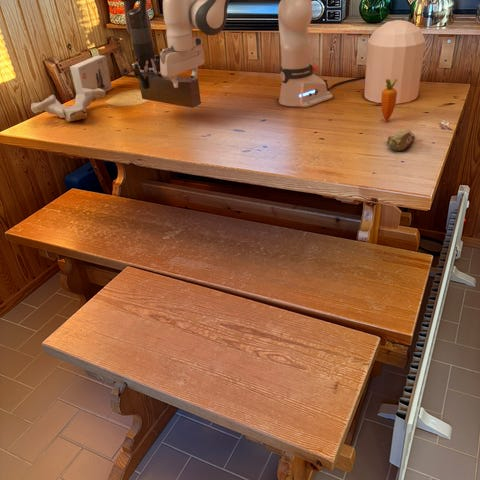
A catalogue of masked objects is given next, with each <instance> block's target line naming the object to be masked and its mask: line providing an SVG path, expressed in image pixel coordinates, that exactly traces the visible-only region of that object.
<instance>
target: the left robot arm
mask: <svg viewBox="0 0 480 480" xmlns="http://www.w3.org/2000/svg"><path fill="white" fill-rule="evenodd" d="M120 1H121V2H122V3H123V10H124V21H125V27H126V30H127V33H128V35H129V36H130V40H131V45H132V49H133V54H134V55H135V62H133V63H131V64H130V67H131V70H132V72H133V74H130V73H126V72H127V68H123V69H122V75H123V76H126V77H132V78H136V79H137V80H138V79H141V82H142V87H143V88H144V89H148V83H147V79H146V73H147V72H151V73H158V74H160V73H161V70H160V54H159V55H157V54H156V50H155V45H154V39H153V32H152V25H151V18H150V16H149V13H148V9H147V6H148V0H120ZM138 2H139V5H138V6H137V7H135V6H136V4H137V3H138Z"/></svg>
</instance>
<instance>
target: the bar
mask: <svg viewBox="0 0 480 480" xmlns="http://www.w3.org/2000/svg"><path fill="white" fill-rule="evenodd" d="M146 79H147V83H148V89H144V88H143V87H142V82H141V79H138V78H137V80H138V86H139V91H140V95H141V99H142V100H145V101H152V102H155V103H157V102H158V103H162V104H163V103H164V104H167V105H168V104H169V105H173V106H174V105H175V106H180V107H185V108H190V109H191V108H192V109H194V108H196V107H198V106H200V105H201V104H202V99H201V93H200V85H199V79H198V78H197V79H196V78H191V77H187V76H180V75H177V78H176V80H177V81H178V82H180V87H178V88H175V87H174V85H173V82H172V80H171V79H170V78H168V77H163V76H162V75H161V73H159V74H158V73H151V72H147V73H146Z"/></svg>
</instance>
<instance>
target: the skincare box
mask: <svg viewBox="0 0 480 480" xmlns="http://www.w3.org/2000/svg"><path fill="white" fill-rule="evenodd" d="M69 70H70V74H71V78H72V82H73V86H74V90H75V94H76V95H79V94H82V91H81V90H82V88H87V89H94V90H95V89H98V88H99V89H102V90H105V92H106V93H107V92H108V91H110V90H112V89H113V86H112V81H111V76H110V72H109V71H110V70H109V66H108V62H107V57H106V55H100V54H99V55H95V56H92V57H90V58H87V59H85V60H83V61H80V62H78V63H75V64H73V65H71V66H69Z"/></svg>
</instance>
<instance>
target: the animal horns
mask: <svg viewBox="0 0 480 480" xmlns="http://www.w3.org/2000/svg"><path fill="white" fill-rule="evenodd" d="M81 91H82V94H79V95H77V94H76V95H75V103H74V104H73V105H69V106H65V105H63V104H62V103H61V102H60V101H59V100H58V99H57V98H56V97H57V96H56V95H55V94H51V95H49V96H48V97H47V98H45V99H43V100H42V101H39V102H31V105H30V110H31V112H32V113H34V114H37V113H42V112H43V111H44V112H47V113H48V114H50V115H56V116H58V117H59V118H60V119H63V118H64V119H65V120H66V121H67V122H68V123H70V122H76V121H80V120H83V119H86V118H87V117H88V112H87V108H88V107H89V106H90V105H91V103H92V101H93V100H95V99H103V98H105V97H106V95H107V92H105V90H102V89H99V88H98V89H95V90H94V89H87V88H82V90H81Z"/></svg>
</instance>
